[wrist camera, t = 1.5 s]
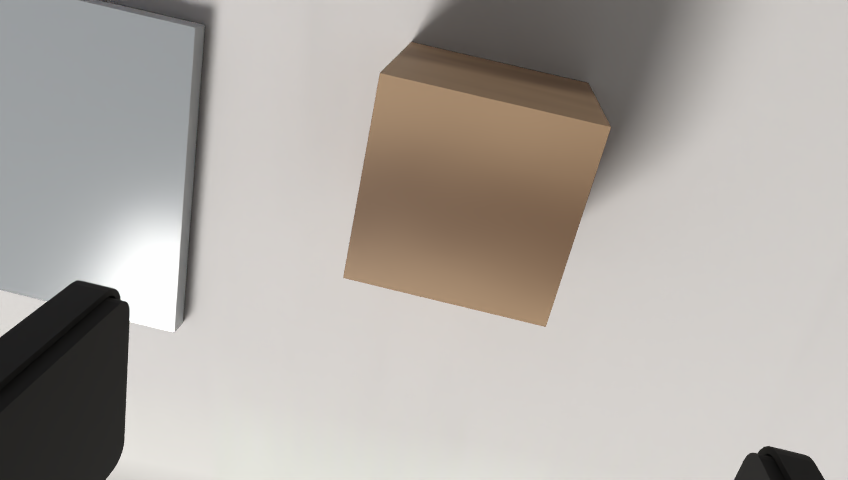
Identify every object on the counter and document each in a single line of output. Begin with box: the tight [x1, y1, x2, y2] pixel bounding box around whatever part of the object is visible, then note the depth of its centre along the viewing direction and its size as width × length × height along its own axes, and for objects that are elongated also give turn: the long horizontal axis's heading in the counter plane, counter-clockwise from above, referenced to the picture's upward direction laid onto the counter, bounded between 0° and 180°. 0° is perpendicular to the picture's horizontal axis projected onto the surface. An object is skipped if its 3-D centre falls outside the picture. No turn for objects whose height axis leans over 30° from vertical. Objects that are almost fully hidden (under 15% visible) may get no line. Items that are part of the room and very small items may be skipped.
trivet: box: [0, 0, 205, 332], centre depth 26 cm, size 12×12×1 cm
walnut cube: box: [343, 42, 611, 327], centre depth 22 cm, size 6×6×6 cm
